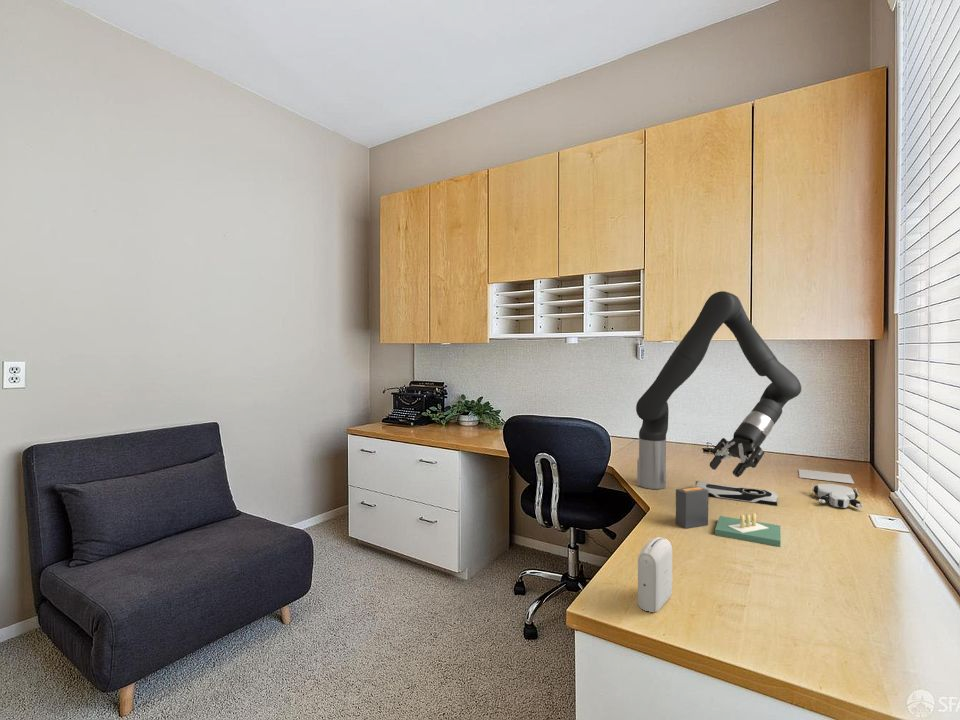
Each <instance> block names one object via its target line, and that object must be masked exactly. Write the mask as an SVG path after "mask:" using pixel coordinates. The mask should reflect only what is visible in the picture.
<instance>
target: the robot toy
mask: <svg viewBox="0 0 960 720" xmlns="http://www.w3.org/2000/svg"><path fill="white" fill-rule="evenodd" d="M811 488H812V492H813V493H814V494H815V495H817V497H819V499H818V502H819V503H821V504H827V503H828V504H829V505H830V506H831V507H833V508H839V509H840V508H841V509H846V508H848V507H850V505H851V506H853V507H855V508H864V504H863V503H861V501H859V500H857V498H859V496H860V494H859V493H858V489H857V487H855V488H854V489H853V488H852V487H850V486H846V485H842V484H835V483H834V484H833V483H818V484H816V485H815V486H814V484H813V482H812V483H811Z"/></svg>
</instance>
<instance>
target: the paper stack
mask: <svg viewBox="0 0 960 720" xmlns="http://www.w3.org/2000/svg"><path fill="white" fill-rule="evenodd" d="M798 476H799V478H801V479H812V480H817V481H818V480H820V481H828V482H835V483H845V484H854V485H855V481H854V480H853V478H852V476H851V474H847V473H838V472H829V471H821V470H820V471H819V470H810V469H800V468H798Z"/></svg>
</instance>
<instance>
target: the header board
mask: <svg viewBox="0 0 960 720" xmlns="http://www.w3.org/2000/svg"><path fill="white" fill-rule="evenodd" d="M739 516H740V517H739V518H735V517H729V516H724V515H719V517H718V520H717V523H716V525H715V526H716V527H715V528H714V535H715V536H719V537H724V538H725V537H726V538H730V539H736V540H741V541H747V542H753V543H758V544H764V545H769V546H775V547H779V548H781V525H780V524H774V523H773V524H772V523H767V522H761V521H757V514H756V513H753V512H752V513H751V514H748V513H746V514H745V515H744V514H740V515H739Z"/></svg>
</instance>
